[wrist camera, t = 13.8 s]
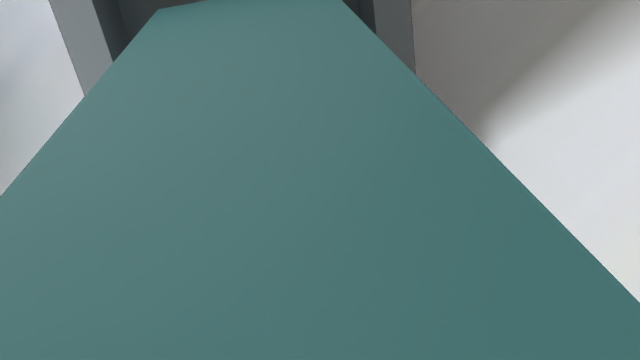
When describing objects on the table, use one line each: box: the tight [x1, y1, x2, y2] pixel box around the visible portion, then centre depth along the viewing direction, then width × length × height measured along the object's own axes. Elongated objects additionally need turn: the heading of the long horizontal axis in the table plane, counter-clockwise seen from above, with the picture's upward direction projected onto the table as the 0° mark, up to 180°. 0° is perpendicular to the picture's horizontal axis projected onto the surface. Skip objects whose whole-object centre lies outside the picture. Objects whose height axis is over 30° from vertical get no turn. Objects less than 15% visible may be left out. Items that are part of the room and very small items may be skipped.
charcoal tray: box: [49, 0, 416, 96], centre depth 17 cm, size 14×9×3 cm, turn 9°
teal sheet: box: [0, 0, 640, 360], centre depth 9 cm, size 10×4×14 cm, turn 9°
